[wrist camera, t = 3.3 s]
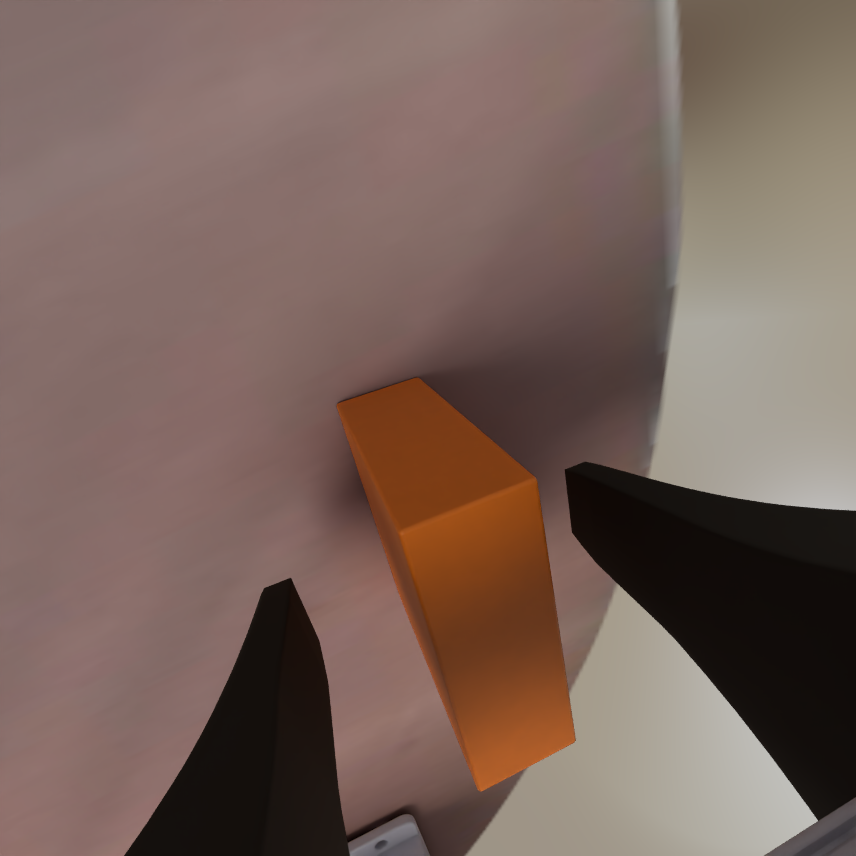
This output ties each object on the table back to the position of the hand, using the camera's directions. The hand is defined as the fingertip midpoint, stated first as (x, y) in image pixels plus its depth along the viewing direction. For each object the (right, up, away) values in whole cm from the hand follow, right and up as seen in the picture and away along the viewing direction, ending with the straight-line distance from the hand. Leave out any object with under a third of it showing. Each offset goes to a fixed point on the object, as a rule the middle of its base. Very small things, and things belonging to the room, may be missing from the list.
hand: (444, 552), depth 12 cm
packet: (-1, +1, +3) cm, 3 cm away
